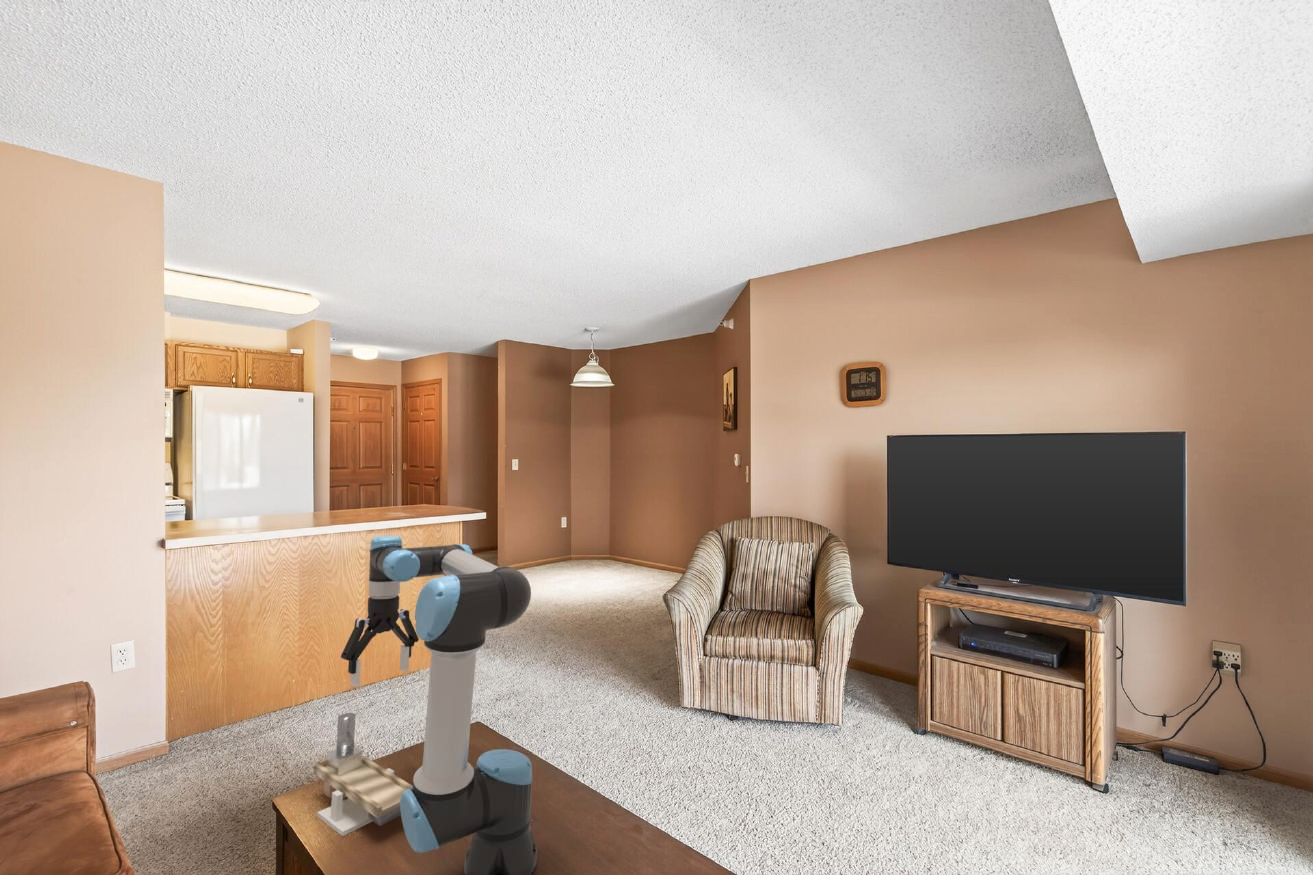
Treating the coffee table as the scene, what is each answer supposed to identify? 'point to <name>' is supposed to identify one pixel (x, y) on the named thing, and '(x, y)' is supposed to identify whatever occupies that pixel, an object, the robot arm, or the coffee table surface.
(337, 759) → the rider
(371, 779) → the beam
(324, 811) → the stand
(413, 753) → the coffee table surface
